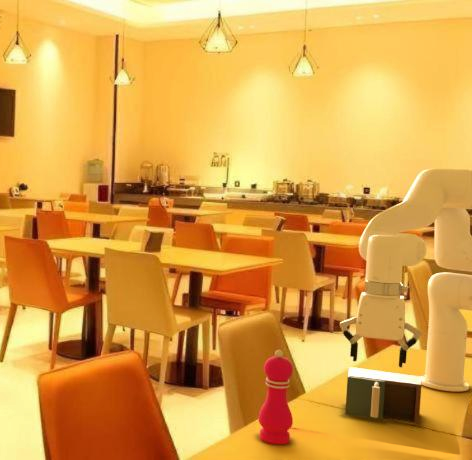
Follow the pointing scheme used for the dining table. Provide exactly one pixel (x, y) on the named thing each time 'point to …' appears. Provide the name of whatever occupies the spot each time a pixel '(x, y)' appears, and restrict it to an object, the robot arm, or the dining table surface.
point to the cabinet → (396, 393)
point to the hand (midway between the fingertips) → (377, 363)
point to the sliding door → (365, 397)
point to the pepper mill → (276, 401)
